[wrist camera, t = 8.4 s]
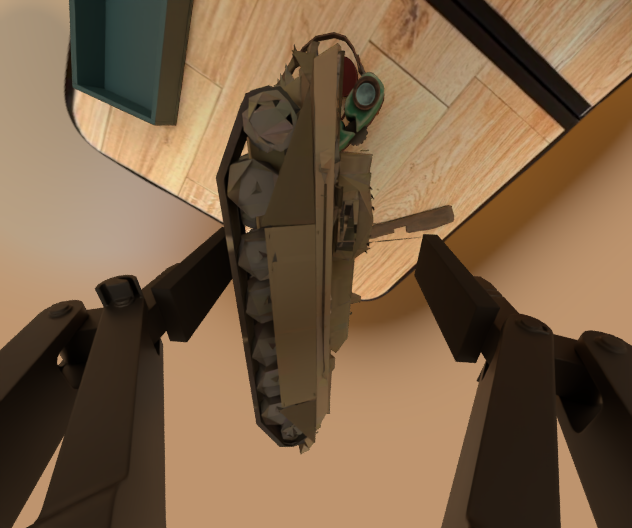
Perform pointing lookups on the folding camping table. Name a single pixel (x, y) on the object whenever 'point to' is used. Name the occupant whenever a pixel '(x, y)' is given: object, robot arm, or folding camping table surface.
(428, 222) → the brown cleaver
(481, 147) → the folding camping table surface
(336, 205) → the tank
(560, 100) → the folding camping table surface
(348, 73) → the binoculars
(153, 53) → the box
